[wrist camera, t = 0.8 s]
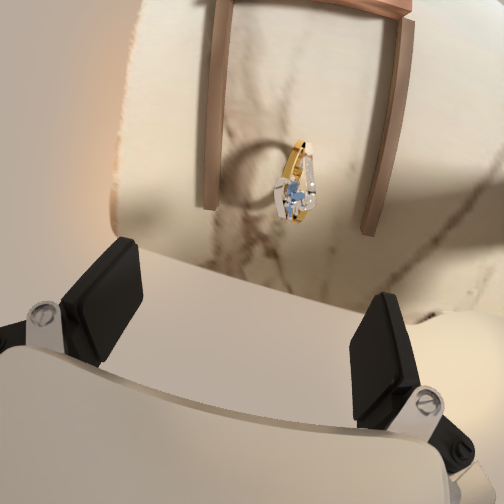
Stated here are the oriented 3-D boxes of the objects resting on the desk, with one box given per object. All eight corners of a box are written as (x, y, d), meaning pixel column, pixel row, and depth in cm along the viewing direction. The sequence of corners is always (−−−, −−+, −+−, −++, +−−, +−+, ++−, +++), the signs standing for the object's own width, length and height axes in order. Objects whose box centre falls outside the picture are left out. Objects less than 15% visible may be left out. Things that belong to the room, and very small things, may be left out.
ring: (302, 205, 29) (301, 246, 22) (272, 196, 29) (261, 234, 22) (324, 140, 25) (331, 161, 18) (290, 130, 25) (285, 147, 19)
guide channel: (410, 7, 16) (425, -3, 13) (370, 229, 29) (378, 249, 26) (223, -21, 18) (211, -35, 14) (207, 203, 31) (195, 220, 27)
